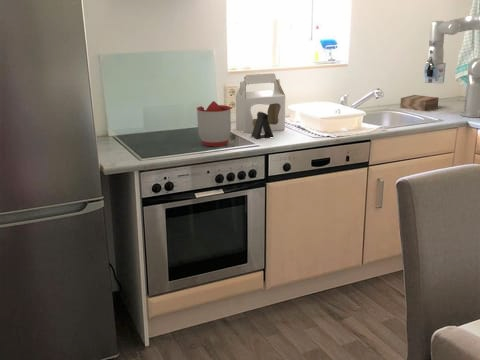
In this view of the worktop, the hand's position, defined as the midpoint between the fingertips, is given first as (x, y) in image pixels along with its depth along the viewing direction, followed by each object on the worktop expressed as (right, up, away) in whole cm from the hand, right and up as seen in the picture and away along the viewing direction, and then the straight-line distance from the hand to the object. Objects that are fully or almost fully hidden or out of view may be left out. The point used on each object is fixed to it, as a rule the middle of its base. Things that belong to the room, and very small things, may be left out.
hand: (433, 75), depth 312 cm
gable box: (-98, -33, -26) cm, 107 cm away
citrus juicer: (-121, -42, -55) cm, 139 cm away
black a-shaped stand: (-98, -38, -43) cm, 113 cm away
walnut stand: (0, -15, +25) cm, 29 cm away
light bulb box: (0, -4, +1) cm, 4 cm away
